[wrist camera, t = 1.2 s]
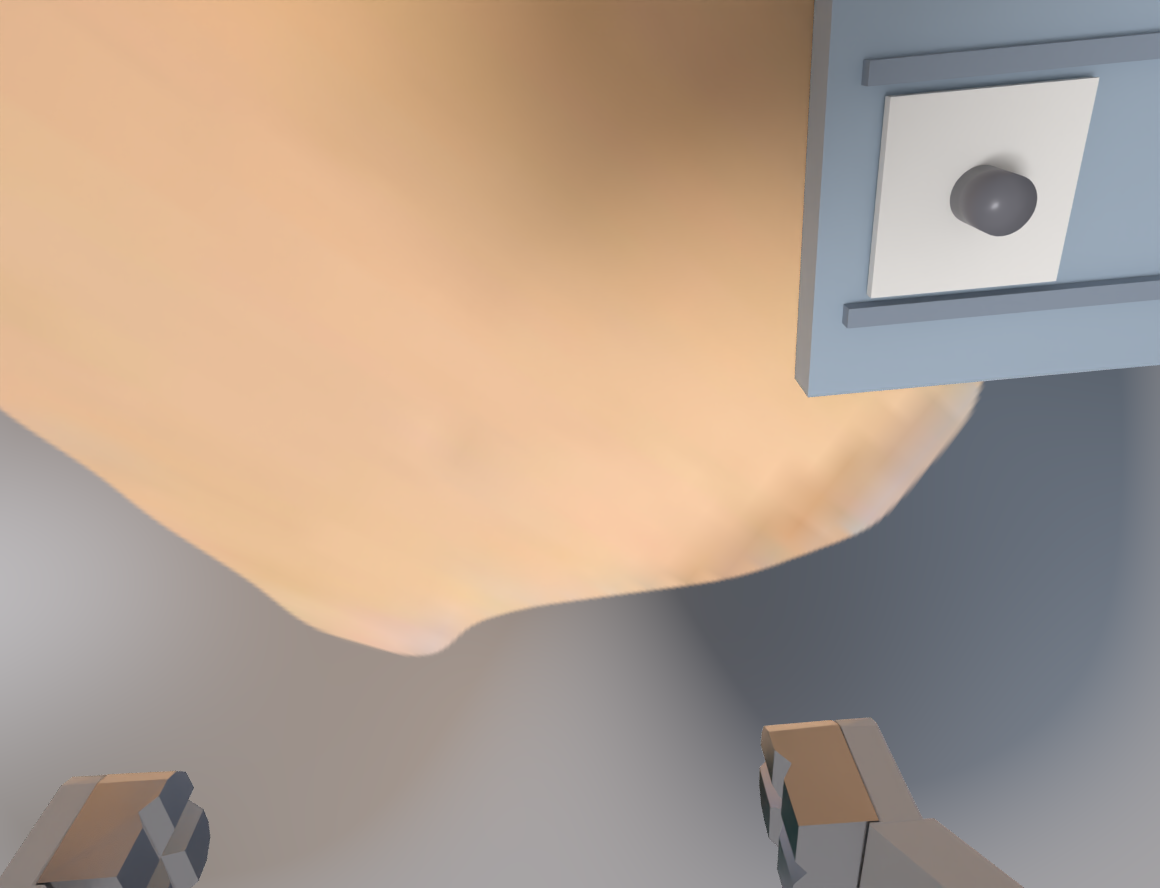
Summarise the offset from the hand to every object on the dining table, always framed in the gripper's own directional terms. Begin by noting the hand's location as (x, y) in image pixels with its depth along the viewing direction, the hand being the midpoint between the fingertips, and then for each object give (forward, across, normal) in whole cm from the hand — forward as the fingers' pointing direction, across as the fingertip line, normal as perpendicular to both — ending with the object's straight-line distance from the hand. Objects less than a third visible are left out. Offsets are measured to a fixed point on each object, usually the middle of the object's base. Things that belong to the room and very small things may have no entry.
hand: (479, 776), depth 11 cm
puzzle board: (+32, -25, -2) cm, 41 cm away
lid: (+29, -21, -2) cm, 36 cm away
